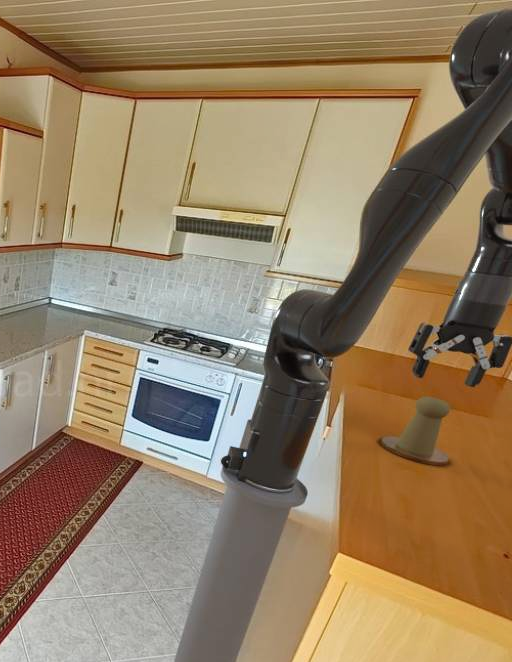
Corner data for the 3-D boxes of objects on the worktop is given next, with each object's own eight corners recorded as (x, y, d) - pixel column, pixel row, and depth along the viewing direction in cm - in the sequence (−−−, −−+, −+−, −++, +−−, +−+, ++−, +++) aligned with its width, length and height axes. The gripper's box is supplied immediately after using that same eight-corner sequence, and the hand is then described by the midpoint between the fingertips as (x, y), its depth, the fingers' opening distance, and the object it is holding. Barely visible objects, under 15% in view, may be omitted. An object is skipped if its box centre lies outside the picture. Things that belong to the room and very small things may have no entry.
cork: (440, 457, 97) (463, 407, 93) (407, 452, 98) (429, 402, 94) (420, 444, 103) (442, 396, 99) (389, 439, 103) (410, 391, 100)
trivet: (392, 457, 97) (394, 453, 97) (372, 435, 107) (373, 431, 107) (458, 470, 94) (460, 466, 94) (431, 446, 104) (433, 443, 104)
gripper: (444, 295, 88) (409, 379, 94) (542, 308, 84) (499, 395, 90) (425, 290, 95) (393, 368, 100) (514, 302, 91) (476, 383, 97)
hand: (443, 381), depth 95 cm, fingers open, 8 cm apart
